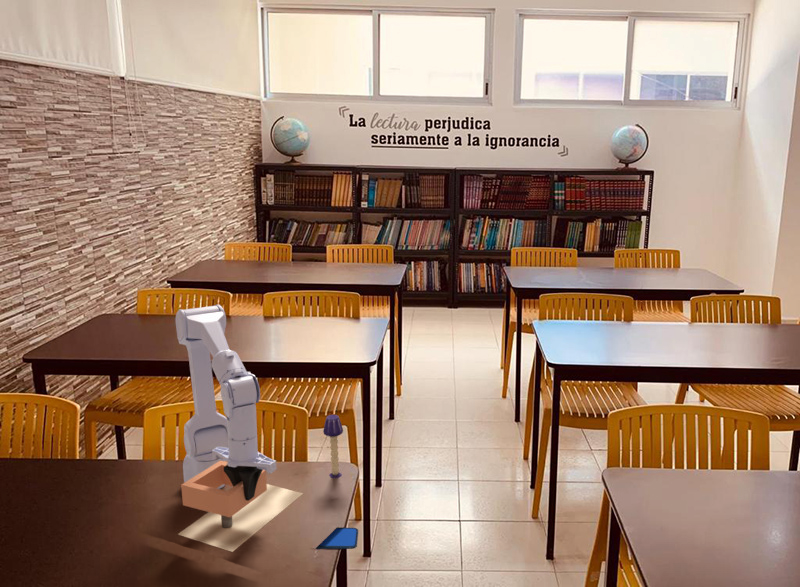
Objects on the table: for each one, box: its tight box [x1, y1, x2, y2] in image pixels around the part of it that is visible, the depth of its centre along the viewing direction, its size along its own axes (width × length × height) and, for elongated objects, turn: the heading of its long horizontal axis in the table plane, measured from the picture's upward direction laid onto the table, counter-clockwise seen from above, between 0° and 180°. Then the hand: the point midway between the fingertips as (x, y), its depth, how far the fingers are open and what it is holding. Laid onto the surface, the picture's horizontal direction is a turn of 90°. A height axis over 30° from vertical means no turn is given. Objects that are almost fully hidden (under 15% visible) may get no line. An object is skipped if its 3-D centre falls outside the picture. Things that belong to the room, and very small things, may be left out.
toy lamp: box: [322, 414, 344, 479], centre depth 163 cm, size 5×5×17 cm
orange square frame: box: [180, 461, 268, 517], centre depth 141 cm, size 12×12×4 cm
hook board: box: [177, 483, 304, 553], centre depth 147 cm, size 14×25×6 cm, turn 155°
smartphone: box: [315, 526, 359, 550], centre depth 141 cm, size 7×1×15 cm
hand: (245, 496), depth 139 cm, fingers closed on orange square frame, 2 cm apart
